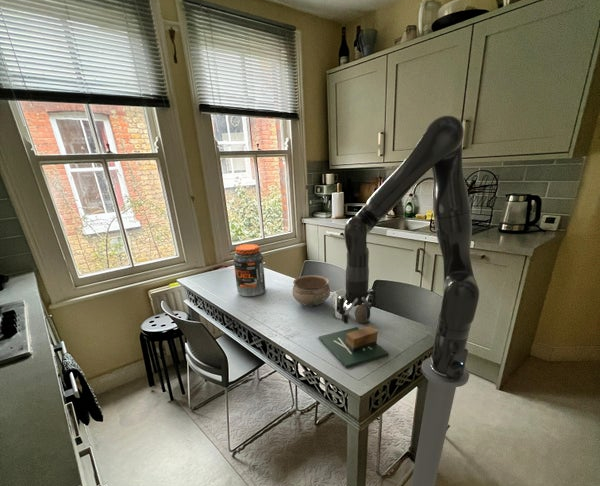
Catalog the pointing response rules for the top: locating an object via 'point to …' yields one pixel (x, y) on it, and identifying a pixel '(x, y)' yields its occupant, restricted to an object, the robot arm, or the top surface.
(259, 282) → the supplement tub
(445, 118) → the robot arm
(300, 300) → the cooking pot
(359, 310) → the vase
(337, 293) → the mug
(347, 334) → the eraser
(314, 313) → the top surface
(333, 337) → the slate board
